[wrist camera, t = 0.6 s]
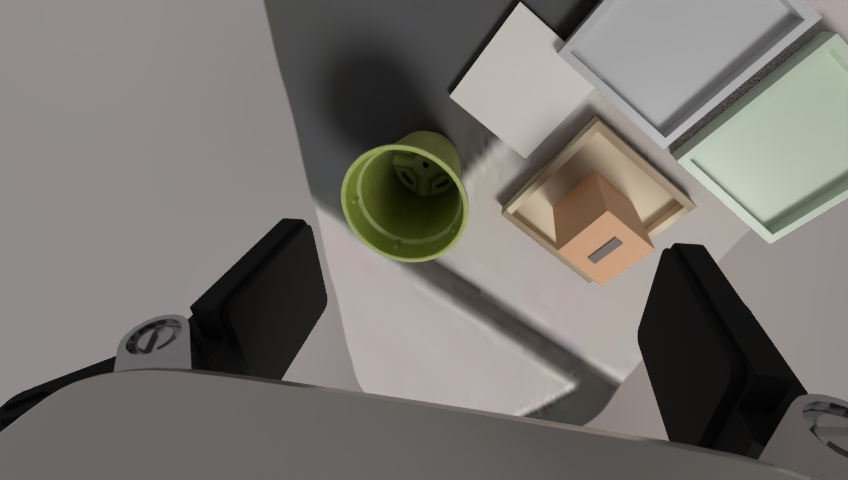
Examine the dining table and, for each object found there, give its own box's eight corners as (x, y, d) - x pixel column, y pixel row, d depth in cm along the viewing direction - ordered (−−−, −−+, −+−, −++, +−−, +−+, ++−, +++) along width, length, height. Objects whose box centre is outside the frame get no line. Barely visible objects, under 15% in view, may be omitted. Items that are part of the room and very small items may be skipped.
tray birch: (595, 114, 31) (598, 120, 30) (690, 198, 33) (696, 206, 31) (502, 206, 37) (501, 214, 35) (587, 273, 38) (589, 283, 37)
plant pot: (502, 173, 35) (495, 221, 28) (424, 227, 40) (401, 281, 32) (431, 86, 32) (404, 115, 25) (356, 155, 37) (315, 196, 30)
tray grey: (692, -108, 23) (701, -113, 22) (808, 15, 25) (822, 17, 24) (556, 51, 29) (557, 54, 28) (658, 142, 31) (663, 149, 30)
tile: (520, 1, 28) (519, 1, 28) (603, 76, 29) (604, 77, 29) (450, 94, 32) (449, 96, 32) (525, 156, 34) (525, 159, 33)
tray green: (822, 30, 25) (837, 33, 24) (920, 135, 27) (939, 143, 26) (670, 154, 31) (676, 160, 30) (760, 234, 33) (769, 244, 32)
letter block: (593, 170, 33) (608, 211, 27) (633, 204, 33) (656, 251, 28) (552, 207, 35) (557, 252, 29) (590, 237, 36) (603, 287, 30)
